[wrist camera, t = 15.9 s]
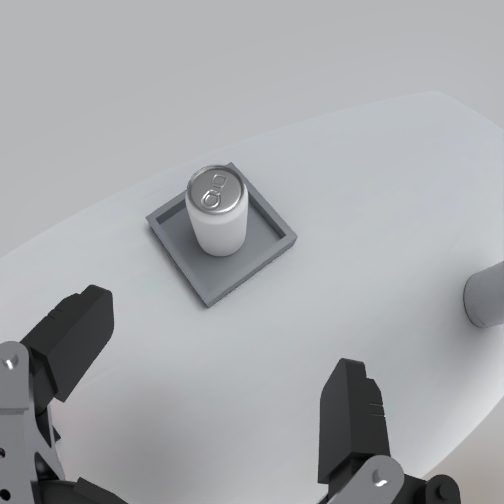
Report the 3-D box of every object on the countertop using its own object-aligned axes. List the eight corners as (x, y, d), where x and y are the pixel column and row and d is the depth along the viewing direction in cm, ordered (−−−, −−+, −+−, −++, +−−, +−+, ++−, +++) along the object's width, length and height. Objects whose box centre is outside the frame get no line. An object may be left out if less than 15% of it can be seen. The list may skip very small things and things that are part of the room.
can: (190, 250, 40) (172, 208, 29) (205, 207, 42) (196, 155, 31) (237, 263, 40) (238, 226, 28) (251, 219, 42) (256, 169, 31)
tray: (231, 173, 45) (231, 161, 42) (293, 244, 42) (297, 236, 39) (150, 226, 42) (145, 217, 39) (208, 308, 39) (206, 304, 36)
